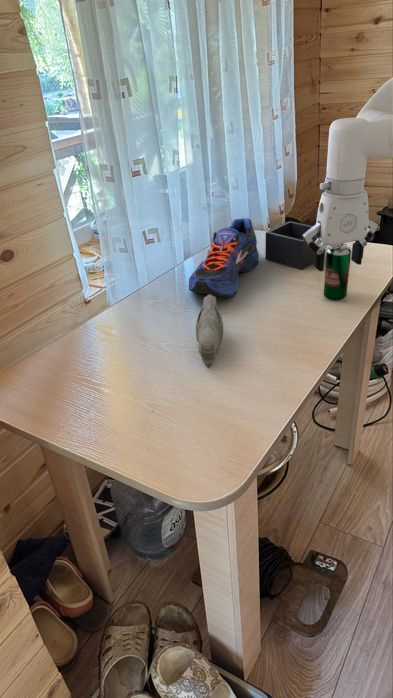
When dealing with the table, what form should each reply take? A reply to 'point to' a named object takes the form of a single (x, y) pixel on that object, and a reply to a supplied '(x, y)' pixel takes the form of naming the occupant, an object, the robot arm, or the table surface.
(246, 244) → the running shoe
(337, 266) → the soda can
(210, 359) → the decorative bird
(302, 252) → the dark grey open box
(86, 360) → the table surface
